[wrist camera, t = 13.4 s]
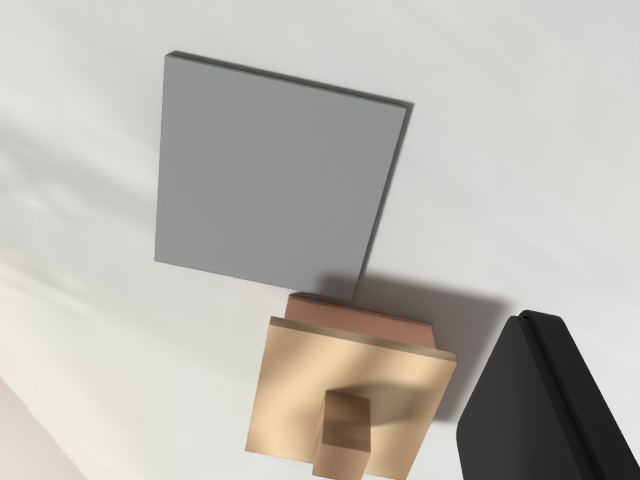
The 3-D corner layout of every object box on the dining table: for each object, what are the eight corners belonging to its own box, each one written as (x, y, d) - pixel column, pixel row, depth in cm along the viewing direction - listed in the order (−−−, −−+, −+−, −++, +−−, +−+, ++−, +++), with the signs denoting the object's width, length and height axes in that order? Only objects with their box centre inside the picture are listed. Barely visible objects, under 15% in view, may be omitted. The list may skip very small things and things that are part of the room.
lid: (455, 353, 40) (469, 416, 35) (404, 471, 47) (409, 538, 42) (271, 316, 39) (257, 374, 34) (247, 441, 46) (232, 505, 41)
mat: (406, 106, 36) (406, 109, 35) (351, 297, 44) (351, 301, 43) (167, 54, 35) (164, 55, 34) (156, 257, 43) (154, 261, 42)
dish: (431, 323, 44) (437, 361, 40) (392, 421, 50) (395, 462, 46) (289, 294, 44) (282, 329, 40) (267, 396, 50) (259, 435, 46)
